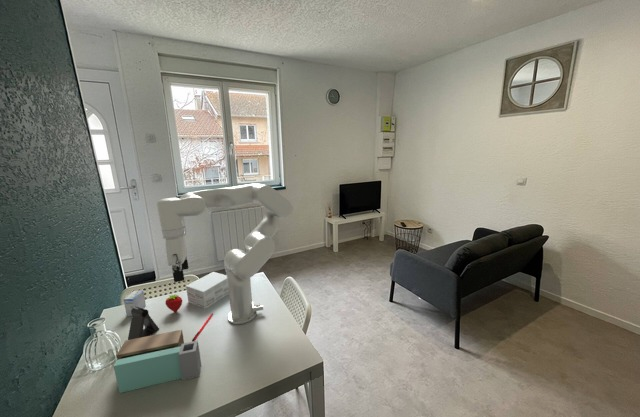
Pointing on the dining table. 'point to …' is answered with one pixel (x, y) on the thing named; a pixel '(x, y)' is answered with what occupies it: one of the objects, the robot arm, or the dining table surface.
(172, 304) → the strawberry
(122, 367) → the teal desk organizer
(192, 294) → the supplement box
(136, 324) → the phone stand
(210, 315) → the pen
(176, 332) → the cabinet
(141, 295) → the medicine box
